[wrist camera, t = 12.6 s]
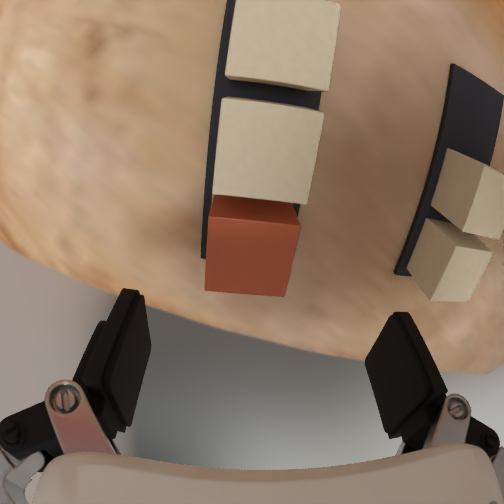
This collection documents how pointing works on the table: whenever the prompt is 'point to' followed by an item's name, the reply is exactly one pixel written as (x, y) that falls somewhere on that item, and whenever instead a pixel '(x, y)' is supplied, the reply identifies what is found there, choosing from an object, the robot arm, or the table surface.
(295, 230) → the rust orange cube
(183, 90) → the table surface
